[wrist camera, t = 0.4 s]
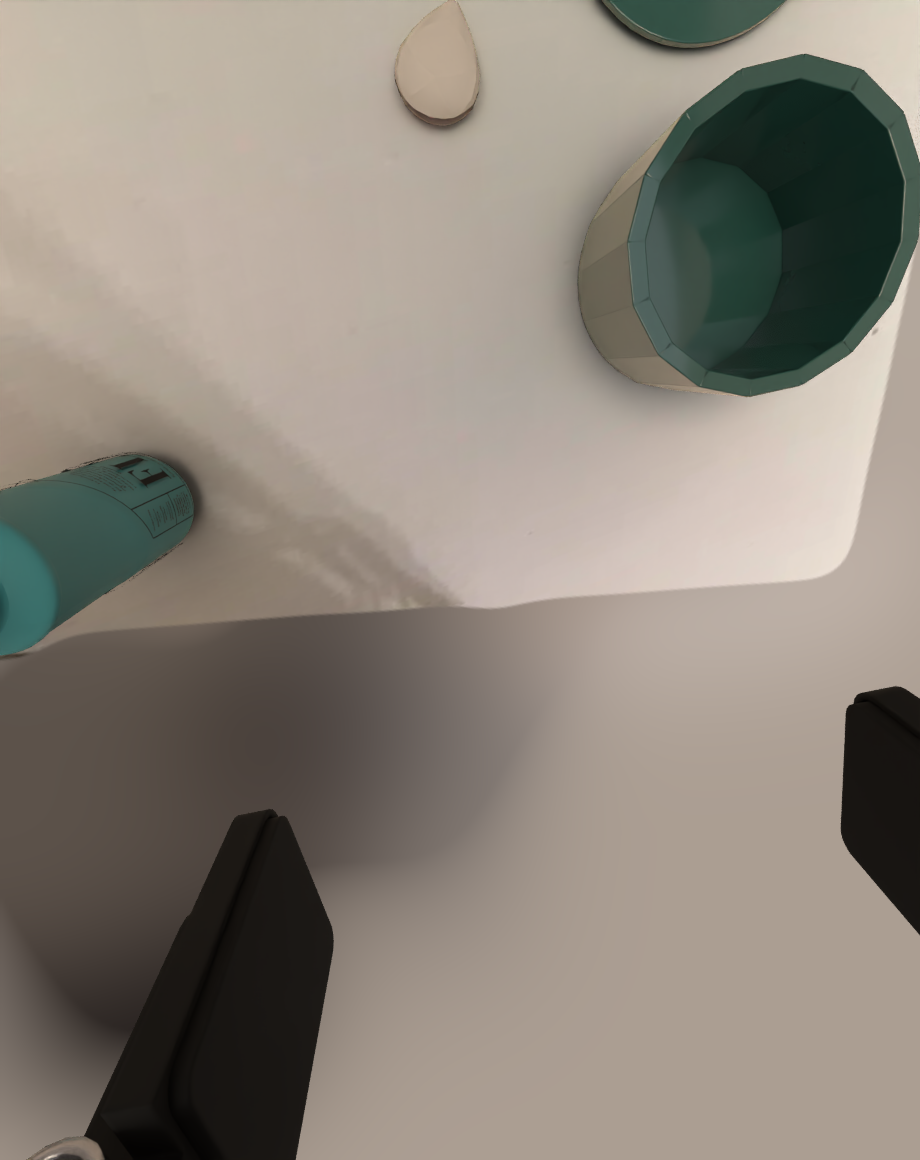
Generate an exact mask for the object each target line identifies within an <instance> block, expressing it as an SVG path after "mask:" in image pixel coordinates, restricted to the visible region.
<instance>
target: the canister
mask: <svg viewBox="0 0 920 1160" xmlns="http://www.w3.org/2000/svg"><path fill="white" fill-rule="evenodd" d="M903 113H904V111H903V110H902V109H901V108H900V107H899V106H898V105H897V104H896V103H895V102H894V101H893V100H892V99H891V98H890V97H889V96H888V95H887V94H886V93H885V92H884V91H883V90H882V89H881V88H880V87H879V86H878V84H877V83H876V82H875V81H874V80H873V79H872V78H871V77H870V76H869V75H868V74H867V73H866V72H865V71H864V70H862V69H860V68H856V67H852V66H849V65H845V64H841V63H838V62H834V61H830V60H827V59H823V58H820V57H816V56H812V55H809V54H800V55H796V56H792V57H788V58H784V59H779V60H775V61H771V62H767V63H763V64H759V65H755V66H750V67H746V68H742V69H741V70H739V71H737V72H736V73H734V74H733V75H732V76H730V77H729V78H728V79H726V80H725V81H724V82H722V83H721V84H720V85H718V86H717V87H716V88H715V89H713V90H712V91H711V92H709V93H708V94H707V95H705V96H704V97H703V98H701V99H700V100H699V101H698V102H696V103H695V104H694V105H692V106H691V107H690V108H688V109H687V110H686V111H685V112H684V113H683V114H682V115H681V116H680V117H679V118H678V119H677V120H676V121H675V122H674V123H673V124H672V125H671V126H670V127H669V128H668V129H667V130H666V131H665V132H664V133H663V134H662V135H661V137H660V138H659V139H658V140H657V141H656V142H655V143H654V144H653V145H652V146H651V147H650V148H649V149H648V150H647V151H646V152H645V153H644V154H643V155H642V156H641V157H640V158H639V159H638V160H637V161H636V162H635V163H634V164H633V165H632V167H631V168H630V169H629V170H628V171H627V172H626V173H625V174H624V175H623V176H622V177H621V178H620V179H619V180H618V181H617V182H616V184H615V185H614V187H613V188H612V190H611V192H610V193H609V195H608V196H607V197H606V199H605V200H604V202H603V203H602V204H601V206H600V208H599V210H598V211H597V213H596V215H595V217H594V219H593V220H592V222H591V223H590V226H589V229H588V232H587V235H586V238H585V241H584V245H583V248H582V252H581V257H580V263H579V272H578V294H579V303H580V308H581V314H582V317H583V320H584V323H585V327H586V329H587V331H588V333H589V336H590V338H591V340H592V342H593V343H594V345H595V346H596V348H597V349H598V351H599V352H600V354H601V355H602V356H603V358H605V360H606V361H607V362H608V363H609V364H611V365H612V366H613V367H614V368H615V369H616V370H617V371H619V372H620V373H622V374H624V375H625V376H627V377H628V378H630V379H632V380H633V381H634V382H637V383H641V384H646V385H650V386H655V387H660V388H665V389H670V390H677V391H688V392H699V393H709V394H720V395H730V396H741V397H752V396H756V395H761V394H765V393H770V392H774V391H779V390H783V389H788V388H793V387H797V386H800V385H803V384H804V383H806V382H807V381H809V380H811V379H812V378H814V377H815V376H817V375H818V374H820V373H821V372H823V371H824V370H826V369H828V368H829V367H831V366H832V365H834V364H835V363H837V362H838V361H840V360H841V359H843V358H845V357H846V356H848V355H849V354H850V353H851V352H853V351H854V349H855V348H856V347H857V346H858V345H859V343H860V342H861V341H862V340H863V338H864V337H865V336H866V335H867V334H868V332H869V331H870V330H871V329H872V327H873V326H874V325H875V324H876V323H877V321H878V320H879V319H880V318H881V316H882V315H883V314H884V313H885V312H886V310H887V309H888V308H889V307H890V305H891V304H892V302H893V301H894V298H895V296H896V293H897V291H898V289H899V286H900V284H901V281H902V279H903V276H904V274H905V271H906V269H907V267H908V264H909V262H910V259H911V257H912V254H913V252H914V249H915V247H916V245H917V242H918V241H917V240H918V237H919V224H920V162H919V159H918V155H917V152H916V149H915V146H914V143H913V139H912V136H911V133H910V130H909V126H908V123H907V120H906V117H905V114H903Z"/></svg>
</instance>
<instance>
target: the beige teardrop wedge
mask: <svg viewBox="0 0 920 1160" xmlns="http://www.w3.org/2000/svg"><path fill="white" fill-rule="evenodd" d="M395 82H396V84H397V87H398V90H399V93H400V96H401V98H402V100H403V102H404V103H405V105H406V107H407V108H408V109H409V110H410V111H411V112H412V113H413V114H414V115H415V116H416V117H418V118H420V119H422V120H423V121H425V122H427V123H429V124H436V125H442V126H443V125H448V124H453V123H456V122H458V121H460V120H461V119H463V118H464V117H465V116H466V115H467V114H468V113H469V112H470V111H471V110H472V109H473V106H474V103H475V101H476V98H477V95H478V90H479V82H480V71H479V65H478V59H477V55H476V51H475V47H474V43H473V39H472V36H471V33H470V30H469V27H468V24H467V22H466V19H465V17H464V15H463V13H462V11H461V8H460V6H459V4H458V3H457V2H456V1H455V0H448V1H447V2H445V3H444V4H442V5H441V6H439V7H438V8H436V9H434V10H433V11H432V12H430V13H429V14H428V15H426V16H425V17H424V18H423V19H422V20H421V21H420V22H419V23H418V24H417V25H416V26H415V27H414V28H413V29H412V31H411V33H410V34H409V35H408V37H407V38H406V39H405V40H404V42H403V43H402V44H401V46H400V49H399V52H398V55H397V58H396V62H395Z"/></svg>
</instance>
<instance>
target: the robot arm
mask: <svg viewBox="0 0 920 1160" xmlns="http://www.w3.org/2000/svg"><path fill="white" fill-rule="evenodd" d="M841 813H842V814H841V835H842V838H843V841H844V843H845V845H846V847H847V849H848V851H849V852H850V854H851V855H852V856H853V857H854V858H855V860H856V861H857V862H858V863H859V864H860V865H861V867H862V868H863V869H864V870H865V871H866V873H867V874H868V875H869V876H870V877H871V878H872V880H873V881H874V882H875V883H876V884H877V886H878V887H879V888H880V889H881V890H882V891H883V893H885V895H886V896H887V897H888V898H889V900H890V901H891V902H892V903H893V904H894V905H895V906H896V908H897V909H898V910H899V911H900V912H901V914H902V915H903V916H904V917H905V918H906V919H907V921H908V922H909V923H910V924H911V925H912V926H913V928H914V929H915V930H916V931H917V932H918V934H919V935H920V698H918V697H916V696H915V695H914V694H912V693H910V692H909V691H907V690H906V689H904V688H902V687H896V686H895V687H889V688H884V689H879V690H874V691H869V692H864V693H860V694H858V695H857V696H856V697H855V699H854V704H852V705H849V706H848V708H847V710H846V722H845V744H844V768H843V791H842V812H841ZM333 942H334V940H333V931H332V926H331V924H330V921H329V919H328V917H327V914H326V911H325V909H324V906H323V904H322V902H321V899H320V897H319V894H318V892H317V889H316V887H315V884H314V882H313V879H312V877H311V875H310V872H309V870H308V867H307V865H306V862H305V860H304V858H303V855H302V853H301V850H300V848H299V845H298V843H297V840H296V838H295V836H294V833H293V831H292V828H291V826H290V823H289V821H288V819H287V818H286V817H285V816H280V817H278V815H277V814H276V812H275V811H274V810H273V809H272V810H271V809H268V810H264V811H258V812H254V813H248V814H243V815H238V816H237V817H236V818H235V819H234V820H233V822H232V824H231V826H230V828H229V830H228V832H227V835H226V837H225V839H224V842H223V843H222V846H221V848H220V850H219V853H218V855H217V857H216V859H215V861H214V863H213V866H212V868H211V870H210V872H209V874H208V877H207V879H206V881H205V883H204V886H203V888H202V890H201V892H200V894H199V897H198V899H197V901H196V903H195V905H194V908H193V910H192V912H191V914H190V915H189V916H187V917H186V919H185V920H184V922H183V924H182V925H181V927H180V929H179V931H178V933H177V936H176V938H175V940H174V942H173V944H172V946H171V949H170V951H169V953H168V955H167V957H166V960H165V962H164V964H163V966H162V968H161V970H160V973H159V975H158V977H157V979H156V981H155V983H154V985H153V988H152V990H151V992H150V994H149V997H148V998H147V1001H146V1003H145V1005H144V1007H143V1009H142V1011H141V1014H140V1016H139V1018H138V1020H137V1023H136V1025H135V1027H134V1029H133V1031H132V1033H131V1035H130V1038H129V1040H128V1042H127V1044H126V1046H125V1048H124V1051H123V1053H122V1055H121V1057H120V1060H119V1061H118V1064H117V1066H116V1068H115V1070H114V1072H113V1074H112V1077H111V1079H110V1081H109V1083H108V1085H107V1088H106V1090H105V1092H104V1094H103V1096H102V1098H101V1101H100V1103H99V1105H98V1107H97V1109H96V1111H95V1114H94V1116H93V1118H92V1120H91V1122H90V1125H89V1127H88V1129H87V1131H86V1133H85V1135H84V1136H80V1137H67V1138H64V1139H62V1140H59V1141H57V1142H55V1143H52V1144H50V1145H48V1146H45V1147H44V1148H42V1149H41V1150H40V1151H38V1152H37V1153H35V1154H34V1155H33V1156H31V1157H30V1158H28V1159H27V1160H296V1155H297V1149H298V1144H299V1138H300V1132H301V1127H302V1121H303V1115H304V1110H305V1105H306V1099H307V1093H308V1088H309V1082H310V1077H311V1071H312V1066H313V1060H314V1054H315V1049H316V1043H317V1037H318V1032H319V1026H320V1021H321V1015H322V1010H323V1004H324V999H325V993H326V987H327V982H328V976H329V971H330V965H331V960H332V954H333Z"/></svg>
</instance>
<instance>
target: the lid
mask: <svg viewBox="0 0 920 1160" xmlns="http://www.w3.org/2000/svg"><path fill="white" fill-rule="evenodd" d="M602 1H603V3H604V4H605V5H606V6H607V7H608V9H609V10H610V11H611V12H612V13H613V14H614V15H615V16H616V17H617V18H618V19H619V20H620V21H621V22H623V23H624V24H625V25H626V26H628V27H629V28H630V29H631V30H633V31H635V32H636V33H638V34H640V35H642V36H643V37H645V38H647V39H649V40H652V41H655V42H658V43H660V44H663V45H669V46H674V47H680V48H698V47H705V46H711V45H716V44H719V43H722V42H725V41H728V40H731V39H733V38H735V37H737V36H739V35H741V34H743V33H745V32H747V31H749V30H751V29H752V28H754V27H755V26H757V25H758V24H760V23H761V22H763V21H764V20H765V19H767V18H768V17H769V16H770V15H771V14H772V13H773V12H775V11H776V10H777V9H778V8H779V7H780V6H781V5H782V4H783V3H784V2H785V1H786V0H602Z"/></svg>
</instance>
